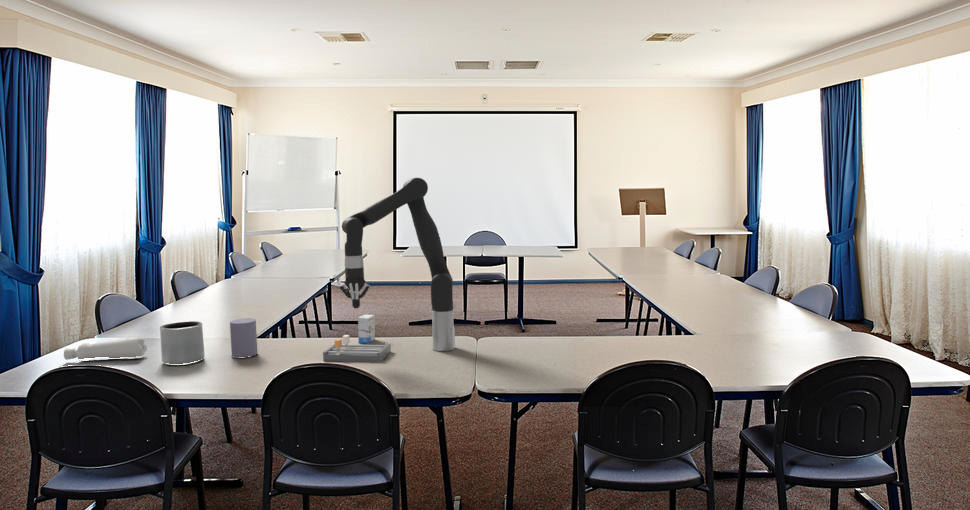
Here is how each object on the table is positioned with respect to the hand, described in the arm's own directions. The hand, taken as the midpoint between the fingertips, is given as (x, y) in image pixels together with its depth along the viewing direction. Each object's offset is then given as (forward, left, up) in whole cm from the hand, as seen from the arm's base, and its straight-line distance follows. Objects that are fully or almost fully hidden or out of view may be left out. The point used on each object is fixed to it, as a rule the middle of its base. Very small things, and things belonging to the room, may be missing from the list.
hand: (356, 308), depth 265 cm
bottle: (+106, +10, -21) cm, 108 cm away
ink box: (+5, -29, -21) cm, 36 cm away
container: (+50, -1, -21) cm, 54 cm away
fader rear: (+7, -6, -18) cm, 20 cm away
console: (+1, -3, -21) cm, 21 cm away
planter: (+71, +10, -21) cm, 75 cm away
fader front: (+8, +1, -18) cm, 20 cm away
